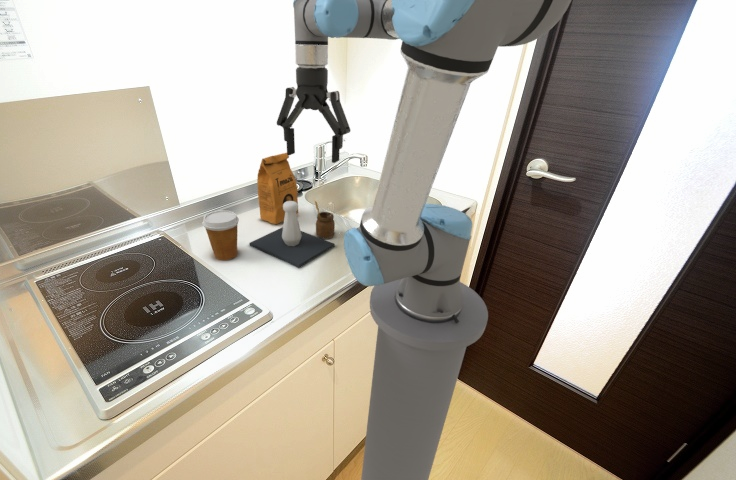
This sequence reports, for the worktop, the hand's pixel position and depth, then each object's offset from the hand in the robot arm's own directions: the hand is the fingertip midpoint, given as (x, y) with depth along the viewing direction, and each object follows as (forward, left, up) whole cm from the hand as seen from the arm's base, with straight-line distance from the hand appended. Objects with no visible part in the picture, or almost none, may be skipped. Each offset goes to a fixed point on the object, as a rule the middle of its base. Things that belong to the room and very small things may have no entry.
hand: (312, 157), depth 97 cm
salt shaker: (+5, +4, -26) cm, 27 cm away
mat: (+5, +4, -27) cm, 27 cm away
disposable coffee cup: (+16, +20, -27) cm, 37 cm away
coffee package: (+22, -8, -27) cm, 36 cm away
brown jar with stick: (+2, -8, -27) cm, 28 cm away
